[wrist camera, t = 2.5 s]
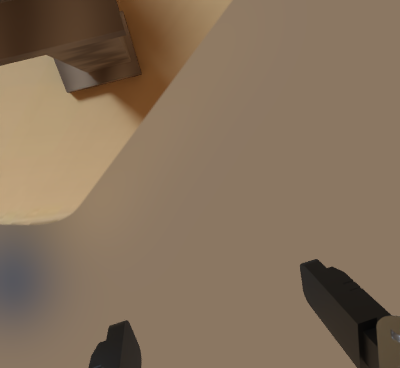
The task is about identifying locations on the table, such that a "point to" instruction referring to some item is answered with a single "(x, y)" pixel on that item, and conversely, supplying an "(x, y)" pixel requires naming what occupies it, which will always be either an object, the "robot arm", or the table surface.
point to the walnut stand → (70, 39)
